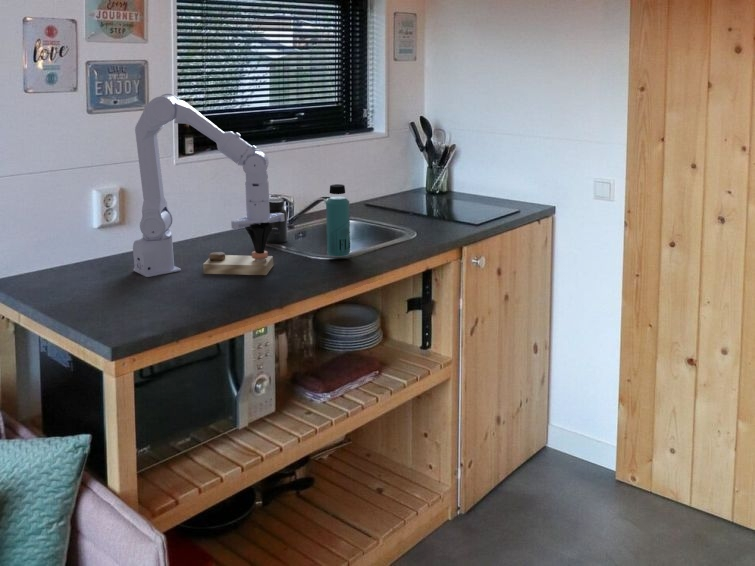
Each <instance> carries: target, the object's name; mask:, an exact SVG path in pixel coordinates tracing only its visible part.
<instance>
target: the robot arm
mask: <svg viewBox="0 0 755 566" xmlns="http://www.w3.org/2000/svg"><path fill="white" fill-rule="evenodd" d="M171 121H174V124H184V125H185V124H187V125H189V126H191V127H192V128H194V129H196V131H198V132H200V133H201V134H202V135H204V136H206V137H207V138H208V139H210V140H211V141H213V142H215V143H216V148H217V151H219V153H222V155H224V156H226V157H227V158H228V159H230V160H231V161H232V162H233V163H234V164H236V165H238V166H241V167H242V169H243V172H244V173H245V182H244V183H245V184H244V185H245V202H246V203H245V206H246V207H245V208H246V216H243V217H241V218H238V219H234V220H231V229H233V230H240V229H243V228H245V230H246V231H247V233H248V235H249V238H250V239H251V242H252V244H253V248H254V251H255V252H256V253H259V254H261V253H264V251H266V250H265V249H266V246H267V245H266V244H267V238H268V236H269V234H270V232H271V230H272V225H270V224H269V223H272V222H278V221H281V222H282V221H285V219H284V214H283V213H273V214H270V211H269V199H270V190H269V189H270V188H269V187H270V185H269V180H268V178H269V175H268V171H267V170H268V167H269V163H270V162H269V157H268V156H267V154H266V153H265V152H264V151H263V150H261V149H257V146H255V145H251V144H250V143H249V142H248V141H246V140H244V139H243V138H242V137H241V134H240V133H239V132H234V131H231V130H230V131H229V130H228V131H223V130H222V129H221V128H219V127H218V126H217V125H216V124H215V123H213V122H212V121H211V120H210V119H208V118H206V116H204V114H202V113H201V112H199V111H198V110H197V109H196V108H194V107H193V106H192V105H190V104H189V103H188V102H187V101H185V100H183V99H180V98H178V96H176V95H175V94H173V93H172V94H171V93H165V94H161V95H160V96H156V97H154V98H153V99H151V100H150V101H149V102H148V103H147V104H146V105H144V108H143V111H142V113H141V115H140V117H139V118H138V121H137V123H136V124H135V127H134V131H135V132H134V133H135V141H136V148H137V157H138V164H139V165H138V166H139V167H138V168H139V174H140V181H141V190H142V197H143V201H142V207H141V214H142V215H141V219H140V222H139V229H140V232H141V234H142V237H141V238H139V239H136V240H134V241H133V243H132V256H133V266H134V268H133V271H134V272H135V273H138V274H140V275H142V276H143V277H145V278H149V277H156V276H160V275H166V274H171V273H175V272H180V271H181V270H182V269H181V268H180V267H178V266H177V265H175V260H174V259H175V258H174V245H173V244H174V243H173V242H174V241H173V233H172V231H171V230H170V228H171V226H172V224H173V215H172V213H171V211H170V210H169V207H168V201H167V200H166V197H165V193H164V186H163V185H164V183H163V176H162V167H161V160H160V159H161V158H160V152H159V142H158V140H159V139H158V133H160V131H161V130H162V129H163V128H164V127H165V126H166V125H167V124H168V123H169V122H171Z"/></svg>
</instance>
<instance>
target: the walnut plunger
mask: <svg viewBox="0 0 755 566" xmlns="http://www.w3.org/2000/svg"><path fill="white" fill-rule="evenodd" d="M208 255H209V256H208V259H210V260H213V261H222V260H224V259H225V255H226V253H225V252H222V251H214V252H210V253H209V254H208Z"/></svg>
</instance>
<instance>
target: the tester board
mask: <svg viewBox="0 0 755 566" xmlns="http://www.w3.org/2000/svg"><path fill="white" fill-rule="evenodd" d="M202 267H203V268H202V269H203V274H204V275H205V274H207V275H238V276H239V275H247V276H267V275H268V274H269V272H270V271H271V270H272V268H273V267H274V256H272V255H268V257H267V258H265V262H255V259H253V258H252V255H242V254H241V255H236V254H235V255H233V254H225V259H224V260H222V261H213V260H210V259H209V258H208V259H206V261H205V262H203V263H202Z"/></svg>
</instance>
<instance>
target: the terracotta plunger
mask: <svg viewBox="0 0 755 566" xmlns="http://www.w3.org/2000/svg"><path fill="white" fill-rule="evenodd" d="M251 256H252V258H253V259H255V262H265V258H267V257H268V256H269V255H268V251H267V250H264V253H261V254H259V253H256V252H255V250H254V251H252V252H251Z"/></svg>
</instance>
